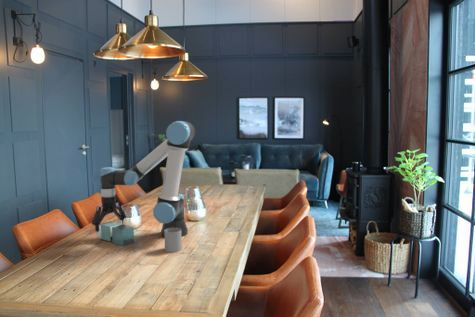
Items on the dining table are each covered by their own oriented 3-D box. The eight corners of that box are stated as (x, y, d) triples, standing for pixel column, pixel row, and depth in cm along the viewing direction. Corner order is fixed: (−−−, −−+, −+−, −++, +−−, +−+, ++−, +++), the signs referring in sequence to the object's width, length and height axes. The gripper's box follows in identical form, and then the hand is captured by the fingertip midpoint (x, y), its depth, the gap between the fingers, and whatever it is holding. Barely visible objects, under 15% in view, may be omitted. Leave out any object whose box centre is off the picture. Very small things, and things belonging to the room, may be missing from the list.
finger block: (99, 238, 219) (99, 224, 218) (110, 235, 224) (110, 221, 223) (110, 241, 213) (109, 226, 212) (121, 238, 218) (120, 223, 218)
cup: (167, 253, 195) (167, 233, 194) (162, 248, 202) (162, 229, 201) (184, 250, 199) (183, 230, 198) (178, 246, 206) (178, 227, 205)
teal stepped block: (134, 242, 212) (133, 227, 211) (123, 246, 206) (122, 230, 205) (111, 236, 224) (110, 221, 223) (100, 239, 218) (99, 224, 217)
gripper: (123, 191, 229) (124, 228, 231) (83, 198, 209) (85, 238, 211) (131, 193, 224) (132, 230, 226) (91, 200, 204) (93, 241, 206)
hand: (110, 234), depth 218 cm, fingers open, 13 cm apart
